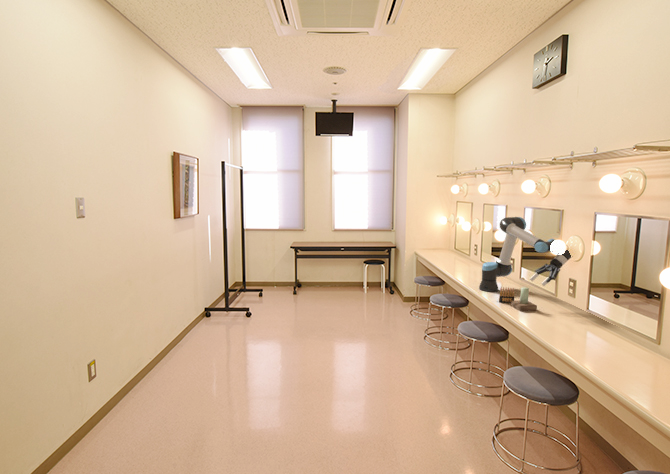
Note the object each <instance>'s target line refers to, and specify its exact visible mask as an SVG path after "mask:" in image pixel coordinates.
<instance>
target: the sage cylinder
mask: <svg viewBox="0 0 670 474" xmlns="http://www.w3.org/2000/svg"><path fill="white" fill-rule="evenodd" d="M529 294H530V288H529V287H524V286H523V287H522V286H521V288H520V297H519V298H520V300H519V301H520V303H522V304H528V301H529Z"/></svg>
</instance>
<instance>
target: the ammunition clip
mask: <svg viewBox="0 0 670 474" xmlns="http://www.w3.org/2000/svg"><path fill="white" fill-rule="evenodd" d="M511 301H515V287H508V288H507V287H503V288H502V286H501V287H500V289H499V298H498V303H500V304H511Z"/></svg>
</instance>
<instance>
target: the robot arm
mask: <svg viewBox="0 0 670 474" xmlns="http://www.w3.org/2000/svg"><path fill="white" fill-rule="evenodd" d="M526 227H527V221H525V218H523V217H520V216H514V217H513V216H511V217H509V216H508V217H503V218H502V219H501V220H500V222H499V229H500V230H501V231H502V232H503V233H505V238H504V242H503V245H502V248H501V251H500V255H499V258H497V259H496V261H495V262H494V261H487V262H484V263H483V264H482V267H481V281H480V283H479V287H478V289H479V290H480V291H481V292H482V291H483V292H488V293H495V292H496V293H497V292H498V291H499V286H498V283H497V278H500V277H507V276H509V275H510V274H512V272H513V266H512V263H511V258H512V256H513V252H514V249H515V246H516V242H517V240H518V239H519V240H520V241H522V242H524V243H525V244H527V245H529V246H531V247H533V248H534V250H535V251H536V252H537V253H540V254H542V253H550V252H551V251H550V245H551V243H552V242H553V241H554V240H556V239H554V238H549V239H548V240H547V241H545V240H543V239H541V238H539V237H537V236H535V235H534V234H532V233H530V232H529V231H526ZM571 258H572V257H571V255H570V253H569V251H568V250H566V251H565V253H564V254H562V255H558V254H557V255H555V256H554V258H552V259H551V260H550V261H549V264H548V263H545V264H544V265H542V266H541V267H539V268H537V269H536V270H534V272H535V273H534V274H533V275H532V276H531V277H530V278H529V280H530V281H531V282H533V281H535V280H536V279H537V278H538V277H539V276H540V275H541V274H543V273H545V272H549V276H547V277H546V278H545V279H544V280H543V281H542V282H541V283H540V284H541V285H542V286H543V287H546V285H547V284H549V283H550V282H551V281H553V280H554V281H555V280H557V276H558V275H559V273H560V272H561V268H562V267H563V266H564V265H565V264H566V263H567V262H568V261H569V260H570V259H571Z"/></svg>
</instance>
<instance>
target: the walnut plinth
mask: <svg viewBox="0 0 670 474" xmlns="http://www.w3.org/2000/svg"><path fill="white" fill-rule="evenodd" d="M510 307H512V308H514V309H515V310H517V311H519V312H537V311H538V310H537V309H538V305H537V304H535V303H533V302H531V301H529V300H528V304H522V303H520V300H514V301H511V303H510Z"/></svg>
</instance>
